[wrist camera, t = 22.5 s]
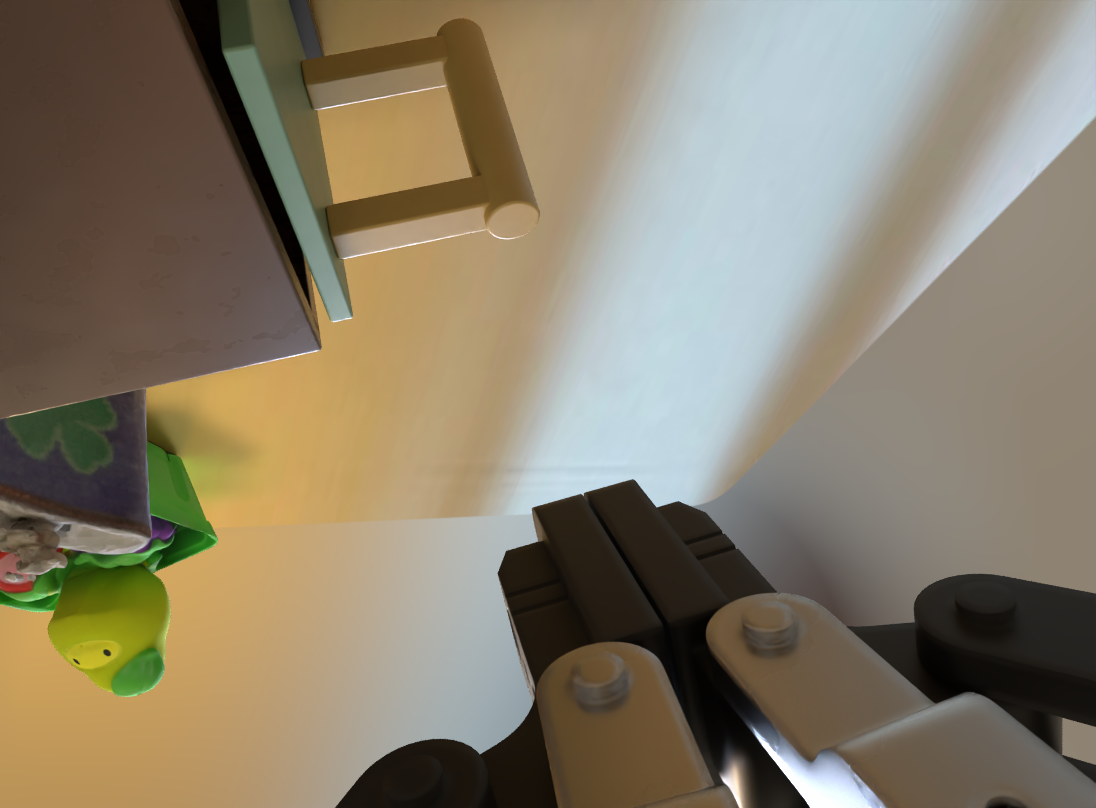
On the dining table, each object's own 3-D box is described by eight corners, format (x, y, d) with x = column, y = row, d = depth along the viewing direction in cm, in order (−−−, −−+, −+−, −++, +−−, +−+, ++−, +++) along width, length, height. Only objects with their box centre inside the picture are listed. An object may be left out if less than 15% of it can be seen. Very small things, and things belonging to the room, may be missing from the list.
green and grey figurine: (115, 402, 42) (120, 636, 37) (232, 464, 50) (251, 666, 44) (-80, 485, 44) (-102, 720, 39) (62, 533, 52) (60, 734, 46)
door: (290, 73, 28) (331, 323, 23) (190, -231, 20) (220, 50, 16) (474, 40, 29) (547, 277, 24) (442, -268, 21) (539, -6, 17)
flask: (158, 355, 40) (168, 584, 35) (109, 382, 41) (111, 610, 36) (-45, 254, 32) (-71, 529, 27) (-101, 290, 33) (-136, 563, 28)
